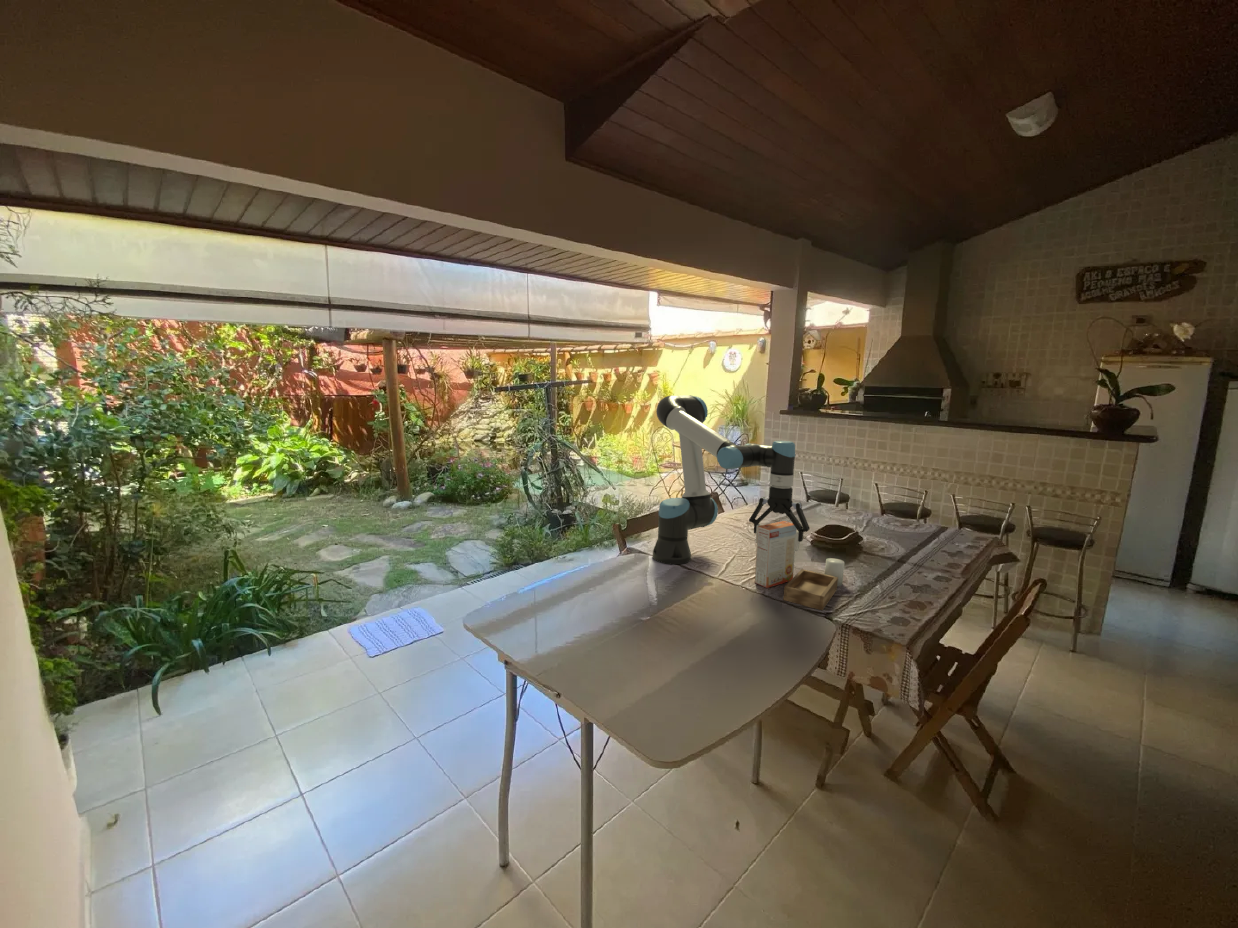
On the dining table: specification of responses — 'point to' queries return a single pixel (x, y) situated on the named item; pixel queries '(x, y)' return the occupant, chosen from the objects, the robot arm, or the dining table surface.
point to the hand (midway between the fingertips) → (776, 546)
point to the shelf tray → (810, 589)
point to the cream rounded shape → (835, 569)
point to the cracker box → (775, 553)
